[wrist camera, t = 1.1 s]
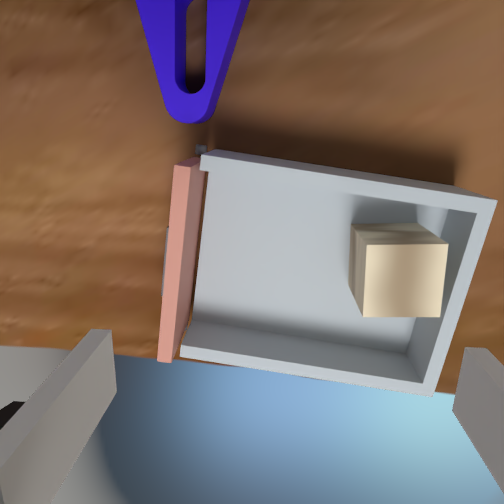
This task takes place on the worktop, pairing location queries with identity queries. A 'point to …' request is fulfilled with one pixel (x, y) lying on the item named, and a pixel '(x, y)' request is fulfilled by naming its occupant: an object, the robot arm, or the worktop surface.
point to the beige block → (396, 270)
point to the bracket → (174, 52)
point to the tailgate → (180, 255)
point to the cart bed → (320, 271)
